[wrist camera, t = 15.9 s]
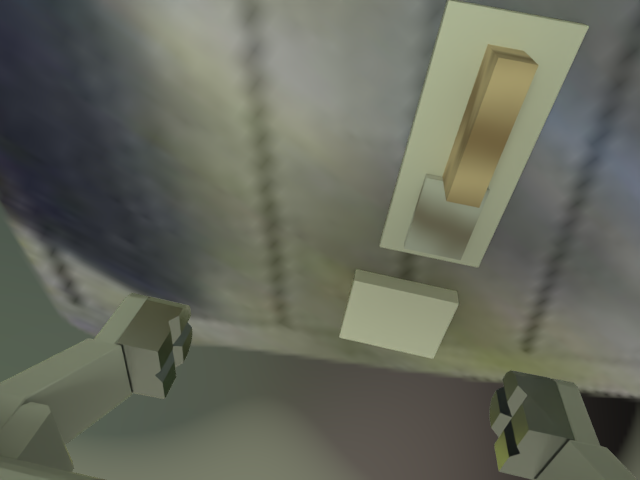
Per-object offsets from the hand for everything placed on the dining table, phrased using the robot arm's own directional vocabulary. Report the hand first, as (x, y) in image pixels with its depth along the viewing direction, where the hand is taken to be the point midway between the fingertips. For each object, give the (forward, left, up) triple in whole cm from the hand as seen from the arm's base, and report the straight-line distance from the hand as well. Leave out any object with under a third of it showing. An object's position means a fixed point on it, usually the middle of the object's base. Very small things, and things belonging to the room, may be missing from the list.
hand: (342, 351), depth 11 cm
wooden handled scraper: (+4, +8, -25) cm, 27 cm away
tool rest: (+4, +8, -26) cm, 28 cm away
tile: (+18, +6, -26) cm, 32 cm away
